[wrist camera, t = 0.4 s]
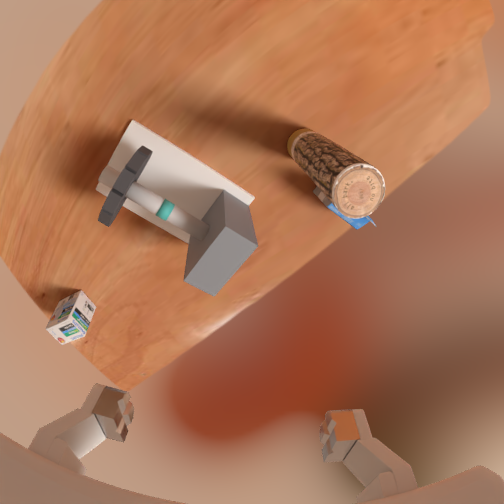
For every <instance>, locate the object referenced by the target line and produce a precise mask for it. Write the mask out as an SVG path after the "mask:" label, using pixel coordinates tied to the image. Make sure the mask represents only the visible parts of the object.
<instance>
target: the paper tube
mask: <svg viewBox="0 0 504 504" xmlns="http://www.w3.org/2000/svg"><path fill="white" fill-rule="evenodd" d="M287 149H288V152H289V154H290V156H291V157H292V158H293V159H294V160H295V162H296V163H297V164H298V165H299V166H300V167H301V168H302V169H303V170H304V172H305V173H306V174H307V175H308V176H309V177H310V178H311V179H312V181H313V182H314V183H315V184H316V185H317V186H318V187H319V189H320V190H321V191H322V192H323V193H324V194H325V195H326V197H327V198H328V199H329V200H330V201H331V203H332V204H333V205H334V206H335V207H336V208H337V210H338V211H339V212H340V213H341V214H343V215H344V216H346V217H349V218H354V219H357V218H363V217H366V216H368V215H370V214H371V213H373V212H374V211H375V210H376V209H377V208H378V207H379V205H380V204H381V202H382V200H383V197H384V194H385V182H384V179H383V176H382V175H381V173H380V172H379V171H378V170H377V169H376V168H375V167H373V166H372V165H370V164H369V163H367V162H365V161H364V160H362V159H361V158H359V157H358V156H356V155H354V154H353V153H351V152H349V151H348V150H346V149H345V148H343V147H341V146H339V145H338V144H336V143H334V142H333V141H331V140H329V139H327V138H326V137H324V136H322V135H320V134H319V133H316V132H315V131H313V130H310V129H299V130H297V131H295V132H294V133H293V134H292V135H291V136H290V137H289V139H288V143H287Z"/></svg>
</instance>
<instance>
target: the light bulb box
mask: <svg viewBox="0 0 504 504" xmlns="http://www.w3.org/2000/svg"><path fill="white" fill-rule="evenodd" d="M95 309H96V306H95V305H94V304H93V303H92V302H91V300H90V299H89V298H88V297H87V296H86V295H85V294H84V292H83V291H82V290H80V291H78V292H76V293H74V294H72V295H70V296H68V297H66V298H64V299H62V300H60V301H59V303H58V305H57V307H56V309H55V311H54V313H53V314H52V316H51V318H50V320H49V322H48V325H47V327H46V330H47V331H48V332H49V333H50V334H51V335H52V336H53V337H54V338H55V339H56V340H57V341H58V342H59V343H61V345H63V344H65V343H68V342H71V341H74V340H76V339H79V338H82V337H85V335H86V332H87V329H88V327H89V324H90V321H91V319H92V316H93V314H94V311H95Z"/></svg>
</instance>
